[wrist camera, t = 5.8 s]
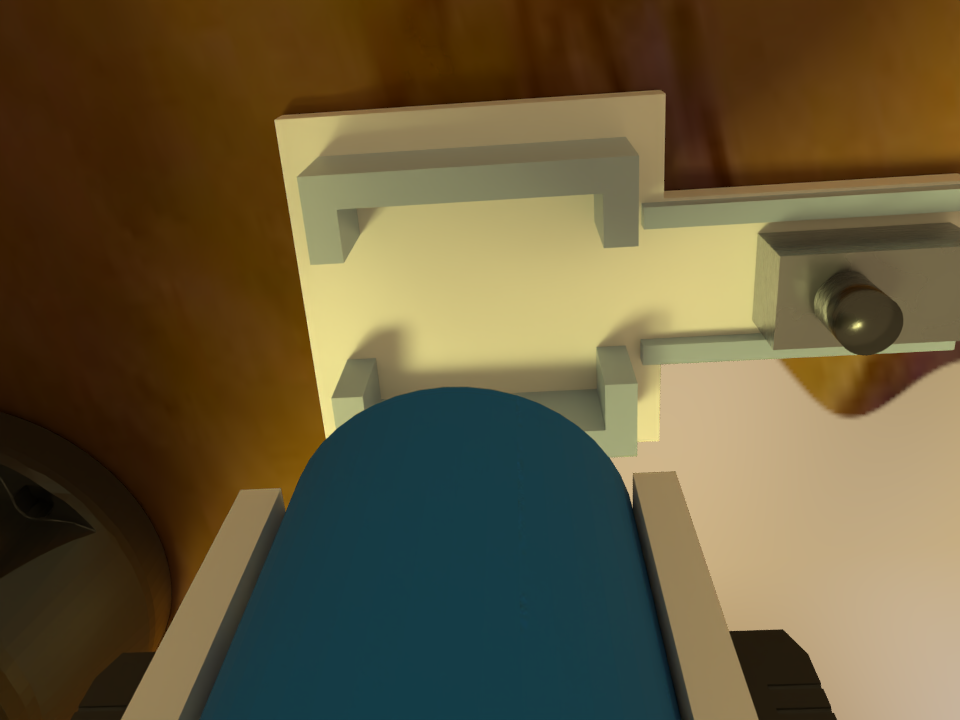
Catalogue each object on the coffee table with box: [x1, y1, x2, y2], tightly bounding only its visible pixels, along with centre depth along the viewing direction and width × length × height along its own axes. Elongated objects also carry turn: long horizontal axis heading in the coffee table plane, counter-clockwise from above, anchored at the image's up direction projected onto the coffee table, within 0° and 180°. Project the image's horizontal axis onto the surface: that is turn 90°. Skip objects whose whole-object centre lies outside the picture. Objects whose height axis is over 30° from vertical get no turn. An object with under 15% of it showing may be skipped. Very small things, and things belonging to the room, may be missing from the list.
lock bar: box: [752, 222, 960, 355], centre depth 26 cm, size 6×3×4 cm, turn 94°
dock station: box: [274, 90, 960, 458], centre depth 27 cm, size 22×12×4 cm, turn 94°
